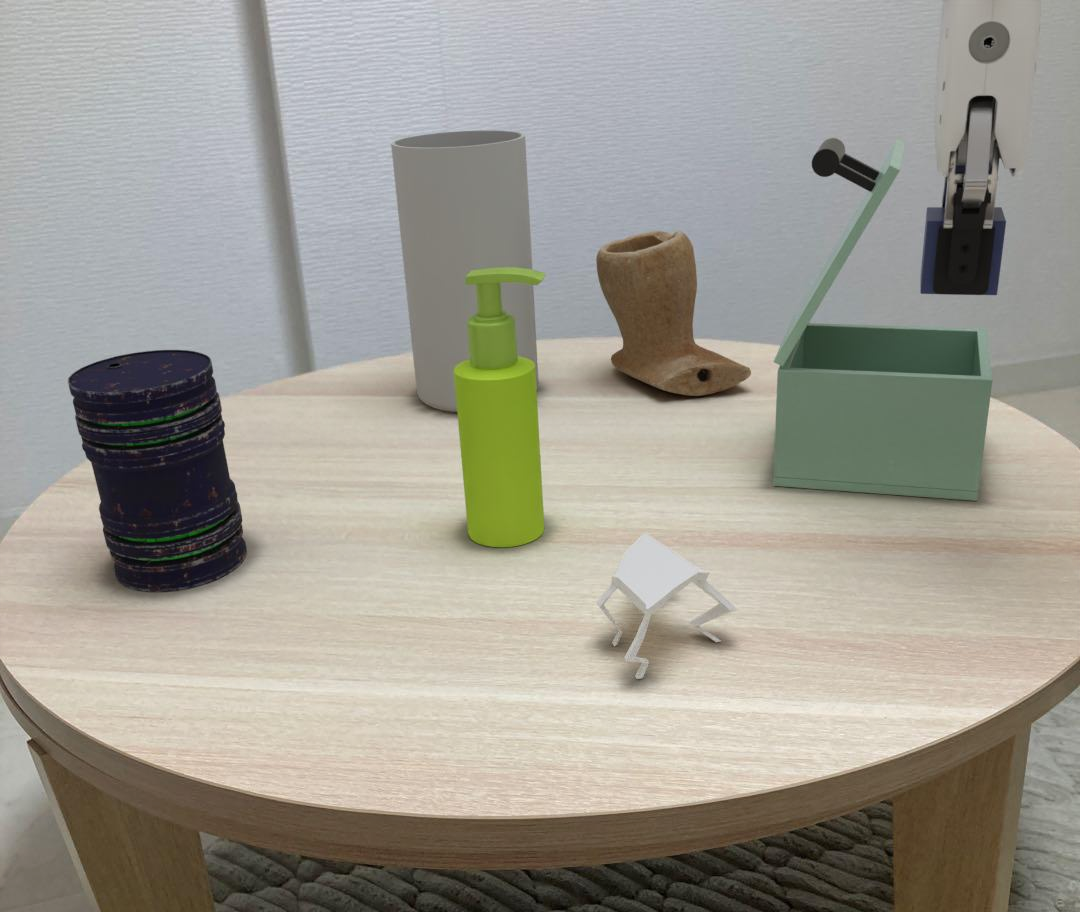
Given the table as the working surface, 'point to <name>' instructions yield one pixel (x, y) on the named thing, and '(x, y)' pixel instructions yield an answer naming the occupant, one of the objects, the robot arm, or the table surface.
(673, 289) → the clay pipe
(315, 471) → the table surface
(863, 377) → the green box
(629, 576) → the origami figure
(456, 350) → the cylinder vase
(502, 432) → the soap dispenser
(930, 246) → the blue block
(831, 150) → the box lid
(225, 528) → the dark blue cylinder
